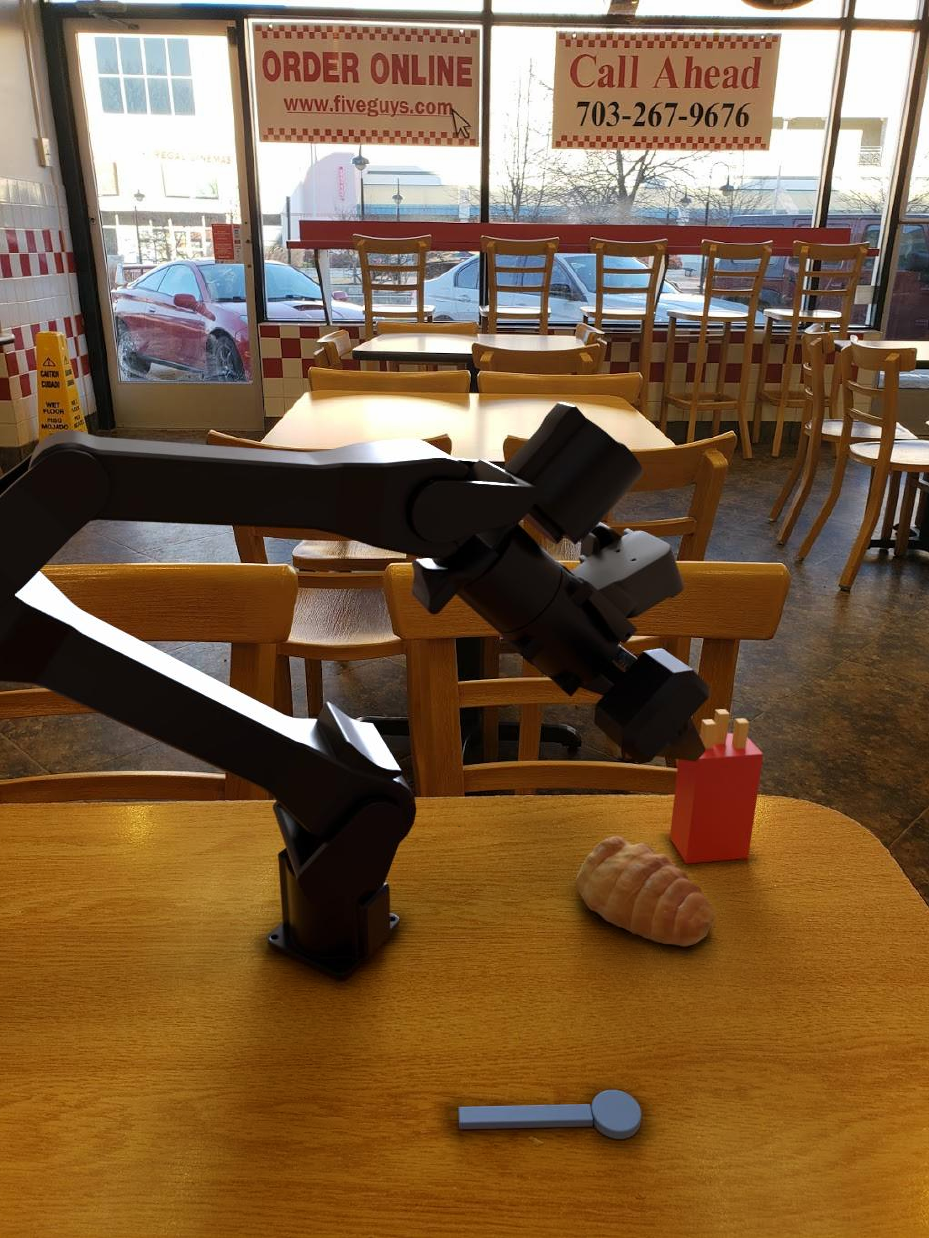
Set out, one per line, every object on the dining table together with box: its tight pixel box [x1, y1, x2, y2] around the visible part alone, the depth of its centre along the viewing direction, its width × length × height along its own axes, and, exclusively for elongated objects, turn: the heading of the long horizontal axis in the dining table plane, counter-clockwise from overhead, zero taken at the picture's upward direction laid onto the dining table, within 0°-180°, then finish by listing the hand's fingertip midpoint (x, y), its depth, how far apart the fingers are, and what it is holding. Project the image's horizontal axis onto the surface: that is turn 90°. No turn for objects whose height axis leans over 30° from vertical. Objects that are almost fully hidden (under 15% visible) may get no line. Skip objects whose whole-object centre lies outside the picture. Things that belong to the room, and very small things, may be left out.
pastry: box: [574, 835, 715, 947], centre depth 65 cm, size 9×7×4 cm
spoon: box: [457, 1089, 642, 1140], centre depth 49 cm, size 10×3×1 cm, turn 92°
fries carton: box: [669, 708, 764, 864], centre depth 70 cm, size 5×3×12 cm
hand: (662, 724), depth 66 cm, fingers open, 9 cm apart
